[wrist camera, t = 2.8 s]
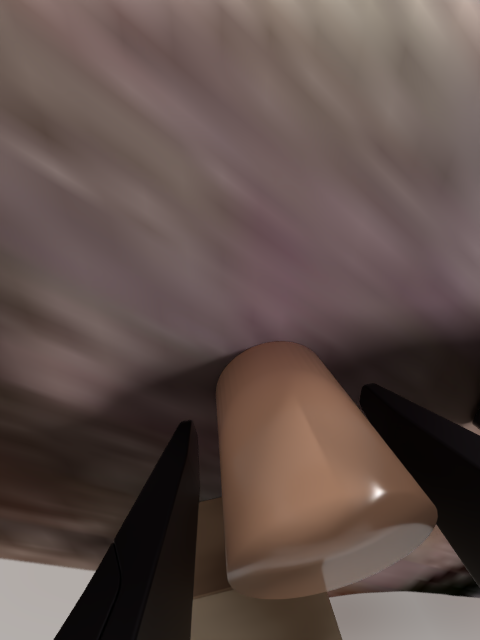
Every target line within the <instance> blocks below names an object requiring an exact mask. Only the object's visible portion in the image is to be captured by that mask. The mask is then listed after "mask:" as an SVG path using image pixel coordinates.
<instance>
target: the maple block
mask: <svg viewBox="0 0 480 640" xmlns="http://www.w3.org/2000/svg"><path fill="white" fill-rule="evenodd" d="M190 640H342V637H341V634H340V631H339V628H338V625H337V622H336V619H335V615H334V612H333V609H332V606H331V603H330V600H329V597H328V594H327V592H323V593H319V594H314V595H309V596H304V597H298V598H289V599H259V598H253V597H248V596H245V595H242V594H240V593H238V592H237V591H235V590H230V591H226V592H222V593H218V594H214V595H210V596H206V597H202V598H198V599H194V600H193V605H192V621H191V638H190Z"/></svg>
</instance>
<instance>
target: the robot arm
mask: <svg viewBox="0 0 480 640" xmlns="http://www.w3.org/2000/svg"><path fill="white" fill-rule="evenodd" d="M360 405H361V407H362V409H363V411H364V413H365V415H366V416H367V418H368V420H369V422H370V423H371V425H372V426H373V427H374V428H375V430H376V431H377V432H378V434H379V435H380V436H381V437H382V439H383V440H384V441H385V442H386V444H387V445H388V446H389V448H390V449H391V450H392V451H393V453H394V454H395V455H396V457H397V458H398V459H399V460H400V462H401V463H402V464H403V465H404V467H405V468H406V469H407V471H408V472H409V473H410V474H411V476H412V477H413V478H414V480H415V481H416V482H417V483H418V485H419V486H420V487H421V488H422V490H423V491H424V492H425V494H426V495H427V496H428V497H429V499H430V500H431V501H432V502H433V504H434V505H435V507H436V509H437V514H438V518H437V522H436V524H437V526H438V527H439V529H440V530H441V532H442V533H443V535H444V536H445V538H446V539H447V540H448V542H449V543H450V545H451V546H452V548H453V549H454V551H455V552H456V554H457V555H458V557H459V558H460V559H461V561H462V562H463V564H464V565H465V567H466V568H467V570H468V571H469V573H470V574H471V576H472V577H473V578H474V580H475V581H476V583H477V584H478V586H479V587H480V436H479V435H477V434H475V433H473V432H471V431H469V430H467V429H465V428H463V427H461V426H459V425H457V424H455V423H453V422H451V421H449V420H447V419H445V418H443V417H441V416H439V415H437V414H435V413H433V412H431V411H429V410H427V409H425V408H423V407H421V406H419V405H417V404H415V403H413V402H411V401H409V400H407V399H405V398H403V397H401V396H399V395H397V394H395V393H393V392H391V391H389V390H387V389H385V388H383V387H381V386H379V385H377V384H374V383H371V384H366V385H363V386H362V390H361V395H360ZM473 425H475V426H476V427H477V428H478V429H480V408H479V410H478V412H477V414H476V416H475V418H474V420H473ZM199 491H200V481H199V456H198V437H197V433H196V430H195V426H194V423H193V421H192V420H187V421H182V422H181V423H180V424H179V425H178V427H177V429H176V431H175V432H174V434H173V436H172V438H171V440H170V441H169V443H168V445H167V447H166V448H165V450H164V452H163V454H162V456H161V457H160V459H159V461H158V463H157V464H156V466H155V468H154V470H153V471H152V473H151V475H150V477H149V479H148V480H147V482H146V484H145V486H144V487H143V489H142V491H141V493H140V495H139V496H138V498H137V500H136V502H135V503H134V505H133V507H132V509H131V510H130V512H129V514H128V516H127V518H126V519H125V521H124V523H123V525H122V526H121V528H120V530H119V532H118V533H117V535H116V537H115V539H114V543H112V544H111V546H110V547H109V549H108V551H107V553H106V555H105V556H104V558H103V560H102V562H101V563H100V565H99V567H98V568H97V570H96V572H95V574H94V575H93V577H92V579H91V580H90V582H89V584H88V585H87V587H86V589H85V591H84V592H83V594H82V596H81V597H80V599H79V600H78V602H77V603H76V605H75V607H74V608H73V610H72V611H71V613H70V615H69V616H68V618H67V619H66V621H65V622H64V624H63V626H62V627H61V629H60V631H59V632H58V633H57V635H56V637H55V638H54V640H190V638H191V621H192V605H193V589H194V573H195V557H196V541H197V525H198V509H199Z"/></svg>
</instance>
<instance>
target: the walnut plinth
mask: <svg viewBox="0 0 480 640" xmlns="http://www.w3.org/2000/svg"><path fill="white" fill-rule="evenodd" d="M230 590H234V589H233V588H232V587H231V586H230V584H229V583H228V578H227V566H226V550H225V534H224V518H223V502H222V497H219V498H215V499H211V500H207V501H202V502H199V509H198V525H197V541H196V557H195V573H194V589H193V600H194V599H198V598H202V597H206V596H210V595H214V594H218V593H222V592H226V591H230Z"/></svg>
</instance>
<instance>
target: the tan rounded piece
mask: <svg viewBox="0 0 480 640" xmlns="http://www.w3.org/2000/svg"><path fill="white" fill-rule="evenodd" d="M216 405H217V421H218V437H219V453H220V469H221V486H222V502H223V518H224V534H225V550H226V566H227V578H228V583H229V584H230V586H231V587H232V588H233V589H234V590H235V591H237V592H238V593H240V594H242V595H245V596H248V597H253V598H259V599H289V598H298V597H304V596H309V595H314V594H319V593H323V592H327V591H330V590H334V589H337V588H340V587H343V586H346V585H349V584H352V583H355V582H357V581H360V580H362V579H365V578H367V577H369V576H372V575H374V574H376V573H378V572H380V571H382V570H384V569H386V568H387V567H389V566H391V565H393V564H394V563H396V562H398V561H399V560H401V559H402V558H404V557H405V556H407V555H408V554H410V553H411V552H412V551H413V550H415V549H416V548H417V547H418V546H419V545H420V544H421V543H422V542H424V540H425V539H426V538H427V537H428V536H429V535H430V533H431V532H432V530H433V529H434V527H435V525H436V522H437V518H438V514H437V509H436V507H435V505H434V504H433V502H432V501H431V500H430V499H429V497H428V496H427V495H426V494H425V492H424V491H423V490H422V488H421V487H420V486H419V485H418V483H417V482H416V481H415V480H414V478H413V477H412V476H411V474H410V473H409V472H408V471H407V469H406V468H405V467H404V465H403V464H402V463H401V462H400V460H399V459H398V458H397V457H396V455H395V454H394V453H393V451H392V450H391V449H390V448H389V446H388V445H387V444H386V442H385V441H384V440H383V439H382V437H381V436H380V435H379V434H378V432H377V431H376V430H375V428H374V427H373V426H372V425H371V423H370V422H369V421H368V420H367V418H366V417H365V416H364V414H363V413H362V412H361V411H360V409H359V408H358V407H357V405H356V404H355V403H354V402H353V400H352V399H351V398H350V397H349V395H348V394H347V393H346V391H345V390H344V389H343V388H342V386H341V385H340V384H339V383H338V381H337V380H336V379H335V377H334V376H333V375H332V374H331V372H330V371H329V370H328V368H327V367H326V366H325V365H324V363H323V362H322V361H321V360H320V358H319V357H318V356H317V355H316V354H315V353H314V352H313V351H312V350H311V349H309V348H307V347H305V346H303V345H300V344H297V343H293V342H287V341H275V342H268V343H263V344H260V345H257V346H254V347H252V348H250V349H247V350H245V351H244V352H242V353H241V354H239V355H238V356H236V357H235V358H234V359H233V360H232V361H231V362H230V363H229V364H228V365H227V366H226V367H225V369H224V370H223V372H222V373H221V375H220V377H219V380H218V382H217V387H216Z"/></svg>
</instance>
